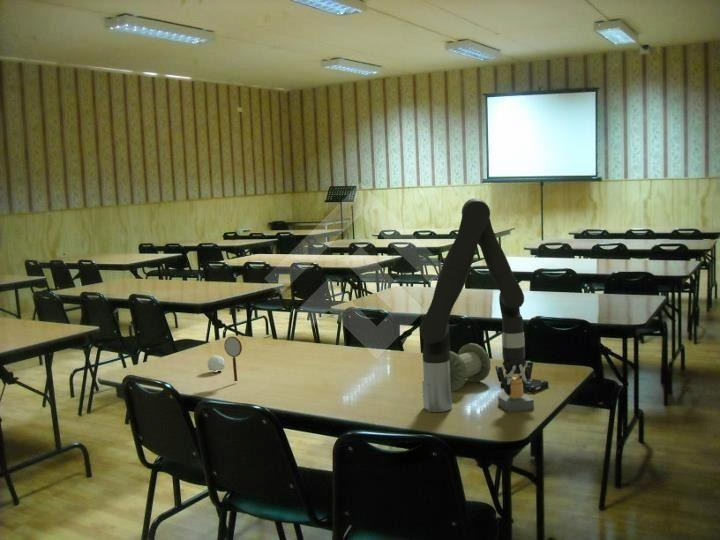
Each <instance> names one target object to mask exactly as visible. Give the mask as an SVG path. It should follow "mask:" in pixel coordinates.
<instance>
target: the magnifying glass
mask: <svg viewBox="0 0 720 540" xmlns="http://www.w3.org/2000/svg"><path fill="white" fill-rule="evenodd" d="M242 350H243V346H242V342H241V340H239V338H237V337H236V336H228V337H227V338H226V339H225V341H224V351H225V352H226V353H227V355H228V356H230V357H232V368H233V378H234V379H233V380H234V382H235V381H237V382H238V373H237V361H236V360H237V359H236V357H238V356H240V355H241V353H242Z"/></svg>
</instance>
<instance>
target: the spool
mask: <svg viewBox="0 0 720 540" xmlns="http://www.w3.org/2000/svg"><path fill="white" fill-rule="evenodd" d="M449 358H450V378H451V392H455V391H458V390H460V389H461V388H462V387H463V386H465V384H466V381H468V382H473V383H479V382H481V381H484V380H485V379H487V377H488V376H489V374H490V372H491V360H490V357H489V353H487V351H486V350H485V349H484V347H483V346H481V345H479V344H477V343H472V342H470V343H467V344H464V345H462V346H461V347H460V349H459V350H458V353H456V352H454V351H452V350H450V354H449Z"/></svg>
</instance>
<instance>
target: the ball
mask: <svg viewBox="0 0 720 540" xmlns="http://www.w3.org/2000/svg"><path fill="white" fill-rule="evenodd" d="M225 363H226V361H225V359H224V357H222V356H221V355H212V356H210V357H209V359H208V360H207V368H208V370H209V371H210V370H213V371H216V370H222V369H223V370H224V368H226V364H225ZM223 370H222V371H223Z"/></svg>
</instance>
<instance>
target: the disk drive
mask: <svg viewBox="0 0 720 540" xmlns="http://www.w3.org/2000/svg"><path fill="white" fill-rule="evenodd" d="M513 377H519V376H518V375H513ZM499 383H500V384H499V385H500V388H502V389H504V383H501V382H499ZM547 387H548V388H549V381H548V380H543V379H542V380H541V379H535V378H530V379H527V380H526V390H525V392H524V393H528V392H530V394H536V393H538V392H541V391H543V390H545V389H547ZM540 390H541V391H540Z"/></svg>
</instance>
